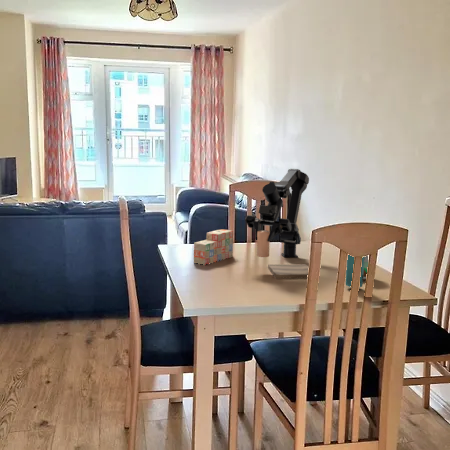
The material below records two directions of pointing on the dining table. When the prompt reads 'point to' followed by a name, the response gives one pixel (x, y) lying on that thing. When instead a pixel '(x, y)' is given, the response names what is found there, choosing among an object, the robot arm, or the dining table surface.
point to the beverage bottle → (350, 271)
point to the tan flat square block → (289, 270)
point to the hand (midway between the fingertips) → (262, 240)
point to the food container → (365, 267)
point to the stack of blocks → (214, 247)
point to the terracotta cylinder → (263, 243)
